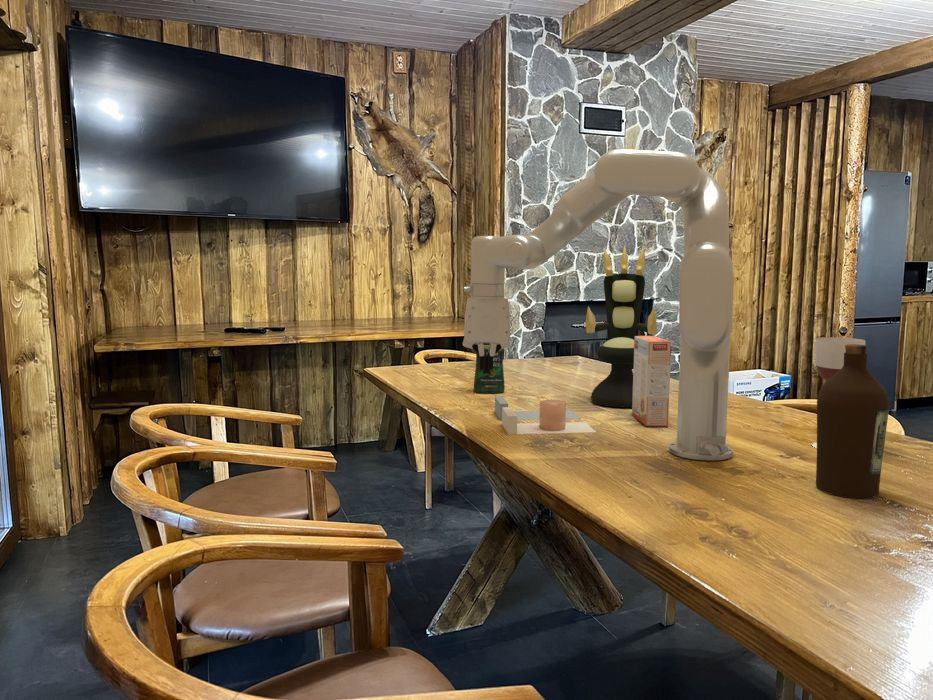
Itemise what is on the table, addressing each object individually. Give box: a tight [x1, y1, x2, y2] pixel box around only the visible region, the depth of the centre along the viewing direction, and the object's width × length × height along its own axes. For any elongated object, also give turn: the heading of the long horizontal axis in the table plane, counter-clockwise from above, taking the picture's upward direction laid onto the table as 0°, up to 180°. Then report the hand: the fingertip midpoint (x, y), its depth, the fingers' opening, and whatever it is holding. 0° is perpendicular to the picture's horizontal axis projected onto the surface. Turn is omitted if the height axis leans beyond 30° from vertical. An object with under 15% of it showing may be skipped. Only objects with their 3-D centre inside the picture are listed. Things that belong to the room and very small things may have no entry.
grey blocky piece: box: [494, 395, 582, 421], centre depth 170 cm, size 10×20×5 cm, turn 95°
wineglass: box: [811, 336, 866, 450], centre depth 143 cm, size 9×10×23 cm
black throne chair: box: [585, 244, 658, 408], centre depth 192 cm, size 19×22×45 cm
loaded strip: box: [501, 406, 597, 435], centre depth 156 cm, size 10×20×5 cm, turn 95°
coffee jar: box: [473, 343, 506, 394], centre depth 209 cm, size 10×8×19 cm
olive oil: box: [815, 344, 890, 499], centre depth 115 cm, size 11×11×25 cm
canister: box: [538, 399, 567, 431], centre depth 156 cm, size 6×6×6 cm
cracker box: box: [631, 335, 673, 428], centre depth 168 cm, size 14×6×21 cm, turn 179°
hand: (486, 372), depth 154 cm, fingers closed
